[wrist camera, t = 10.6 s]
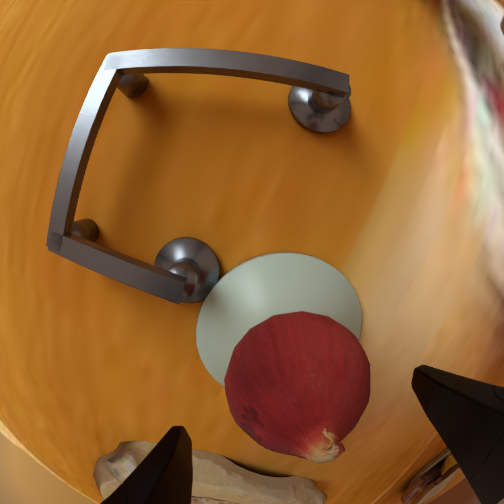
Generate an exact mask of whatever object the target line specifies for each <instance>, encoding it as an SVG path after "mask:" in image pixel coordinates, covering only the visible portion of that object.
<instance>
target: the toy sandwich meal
mask: <svg viewBox="0 0 504 504" xmlns="http://www.w3.org/2000/svg"><path fill="white" fill-rule="evenodd" d="M459 468H460V466H459V465H458V463H457V462H456V460H455V458H454V457H453V455H452V454H451V452H450V450H449V449H447V450H445V451H444V452H443V453H441V454H440V455H439V456H437V457H436V458H435V459H433V460H432V461H431V462H430V463H429V464H427V465H426V466H425V467H424V468H423V469H422V470H421V471H420V472H419V473H418V474H417V475H416V476H415V477H414V478H413V479H412V480H411V482H410V484H409V487H408V489H407V490H406V491H405V492H404V494H403V495H402V497H401V501H402V502H403V503H405V504H423V503H424V502H426V501H427V500H429V499H430V498H431V497H433V496H434V495H435V494H437V493H438V492H439V491H441V490H442V489H443V488H444V487H445V486H446V485H447V483H448V482H449V481H450V480H451V478H452V477H453V476H454V475H455V473H456V472H457V471H458V470H459Z"/></svg>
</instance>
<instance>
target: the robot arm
mask: <svg viewBox="0 0 504 504" xmlns="http://www.w3.org/2000/svg"><path fill="white" fill-rule="evenodd" d="M412 388H413V390H414V392H415V394H416V396H417V398H418V400H419V402H420V404H421V406H422V408H423V410H424V412H425V413H426V415H427V417H428V418H429V420H430V421H431V423H432V424H433V426H434V427H435V429H436V430H437V432H438V433H439V435H440V436H441V438H442V439H443V441H444V443H445V444H446V446H447V447H448V449H449V450H450V452H451V454H452V455H453V457H454V458H455V460H456V462H457V463H458V465H459V466H460V468H461V470H462V471H463V473H464V475H465V476H466V478H467V480H468V482H469V483H470V485H471V487H472V488H473V490H474V492H475V494H476V496H477V497H478V499H479V501H480V503H481V504H497V503H499V501H501V500H502V499H503V498H504V387H500V386H496V385H491V384H488V383H484V382H481V381H477V380H474V379H470V378H466V377H463V376H459V375H456V374H453V373H449V372H446V371H443V370H439V369H436V368H433V367H430V366H427V365H421V366H419V367H416V368H415V369H414V372H413V378H412ZM192 485H193V462H192V442H191V439H190V437H189V435H188V433H187V431H186V429H185V428H184V427H183V426H173V427H171V428H170V430H169V431H168V432H167V433H166V434H165V435H164V437H163V438H162V439H161V440H160V441H159V442H158V444H157V445H156V446H155V447H154V448H153V449H152V450H151V452H150V453H149V454H148V455H147V456H146V457H145V458H144V459H143V461H142V462H141V463H140V464H139V465H138V466H137V467H136V468H135V469H134V471H133V472H132V473H131V474H130V475H129V476H128V477H127V478H126V479H125V480H124V481H123V484H120V486H119V487H118V488H117V489H116V490H115V491H114V492H113V493H112V494H111V495H110V496H109V497H107V498H106V499H105V500H104V501H103V502H101V503H100V504H191V498H192Z"/></svg>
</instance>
